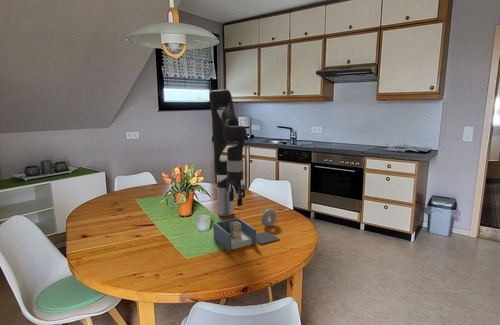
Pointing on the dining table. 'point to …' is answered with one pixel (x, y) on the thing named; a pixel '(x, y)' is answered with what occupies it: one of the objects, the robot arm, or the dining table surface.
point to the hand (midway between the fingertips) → (235, 203)
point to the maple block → (235, 229)
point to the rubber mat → (265, 238)
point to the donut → (266, 215)
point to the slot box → (225, 238)
